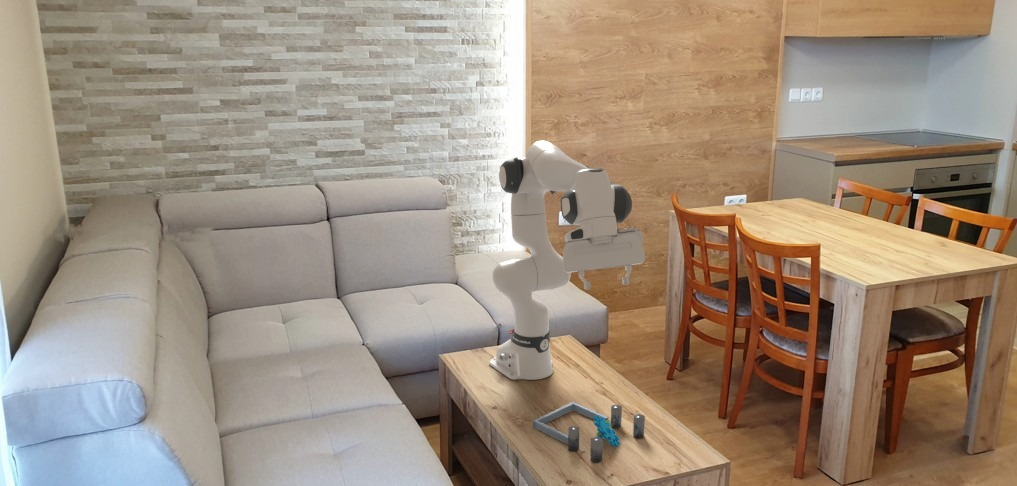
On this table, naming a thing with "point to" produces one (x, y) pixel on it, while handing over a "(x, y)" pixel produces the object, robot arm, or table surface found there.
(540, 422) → the u-shaped bent rod
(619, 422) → the spacer posts
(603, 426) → the gear
